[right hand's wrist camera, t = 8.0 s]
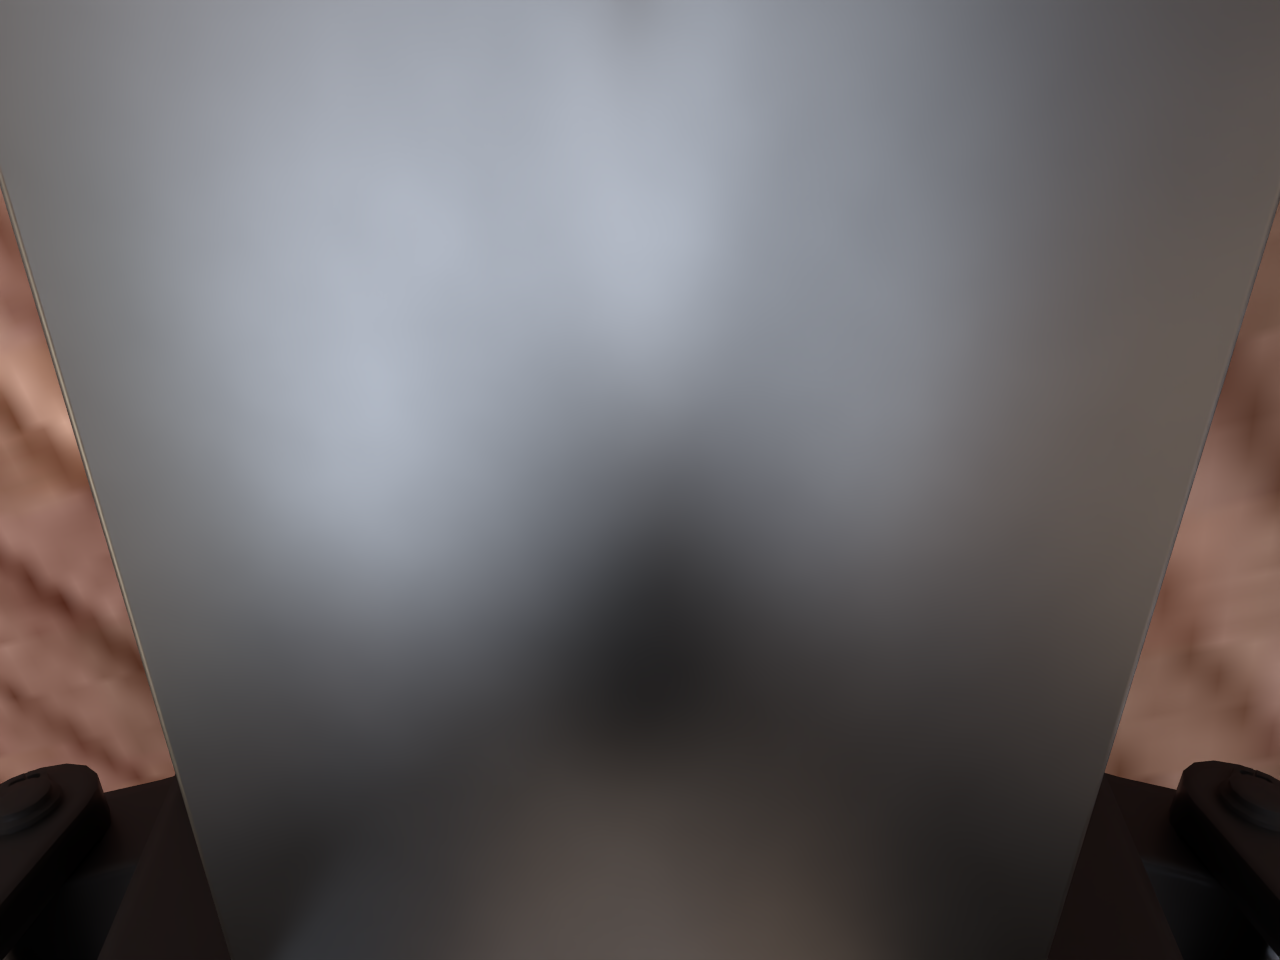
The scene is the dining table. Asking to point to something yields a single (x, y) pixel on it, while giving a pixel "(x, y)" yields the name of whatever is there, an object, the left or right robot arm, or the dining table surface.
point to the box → (640, 441)
